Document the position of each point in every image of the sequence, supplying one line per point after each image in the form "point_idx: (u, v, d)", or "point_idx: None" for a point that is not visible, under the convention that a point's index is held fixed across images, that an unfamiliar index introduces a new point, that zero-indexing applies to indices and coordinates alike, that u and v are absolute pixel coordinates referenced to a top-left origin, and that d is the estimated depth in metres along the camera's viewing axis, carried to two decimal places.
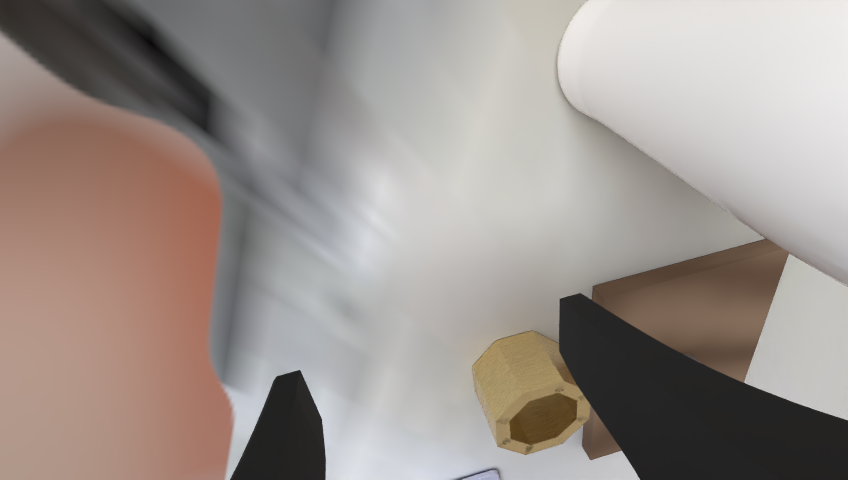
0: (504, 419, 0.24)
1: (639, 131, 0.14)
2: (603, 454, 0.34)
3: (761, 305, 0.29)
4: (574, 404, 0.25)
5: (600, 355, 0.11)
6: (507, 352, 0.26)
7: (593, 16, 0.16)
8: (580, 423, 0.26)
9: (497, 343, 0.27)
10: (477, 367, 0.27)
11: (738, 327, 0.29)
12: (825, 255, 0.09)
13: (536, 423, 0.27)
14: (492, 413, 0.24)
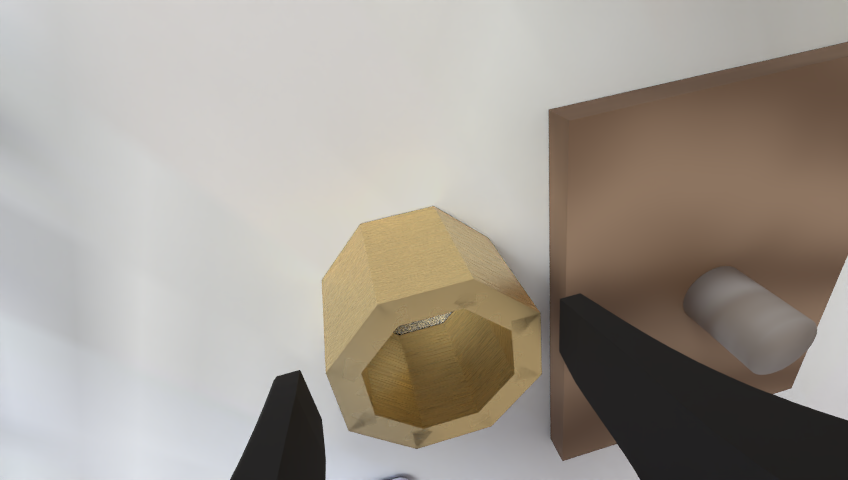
0: (348, 369, 0.11)
1: None
2: (584, 451, 0.21)
3: None
4: (508, 342, 0.12)
5: (600, 355, 0.11)
6: (374, 239, 0.13)
7: None
8: (523, 383, 0.13)
9: (361, 228, 0.13)
10: (327, 278, 0.14)
11: (821, 218, 0.16)
12: None
13: (442, 387, 0.14)
14: (326, 357, 0.11)
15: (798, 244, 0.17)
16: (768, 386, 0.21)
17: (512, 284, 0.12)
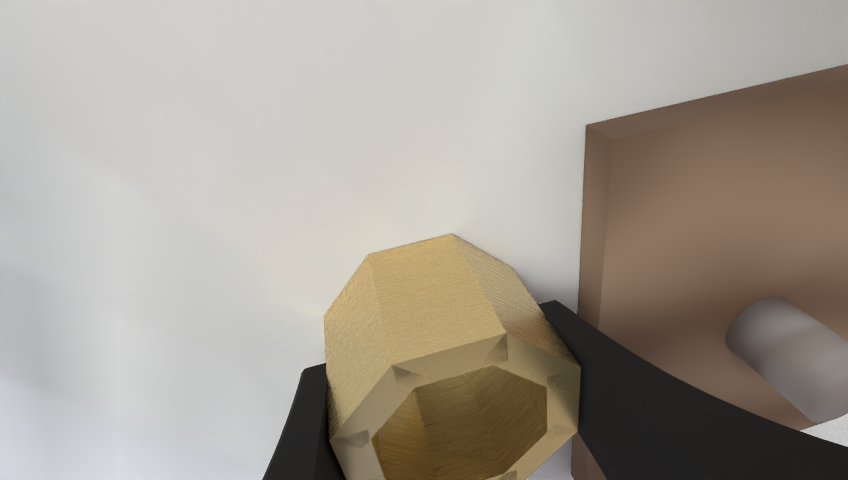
0: (355, 435, 0.09)
1: None
2: None
3: None
4: (541, 397, 0.11)
5: None
6: (384, 275, 0.11)
7: None
8: (556, 442, 0.11)
9: (369, 260, 0.12)
10: (330, 316, 0.12)
11: None
12: None
13: (461, 440, 0.12)
14: (330, 419, 0.10)
15: None
16: (808, 418, 0.20)
17: (546, 330, 0.10)
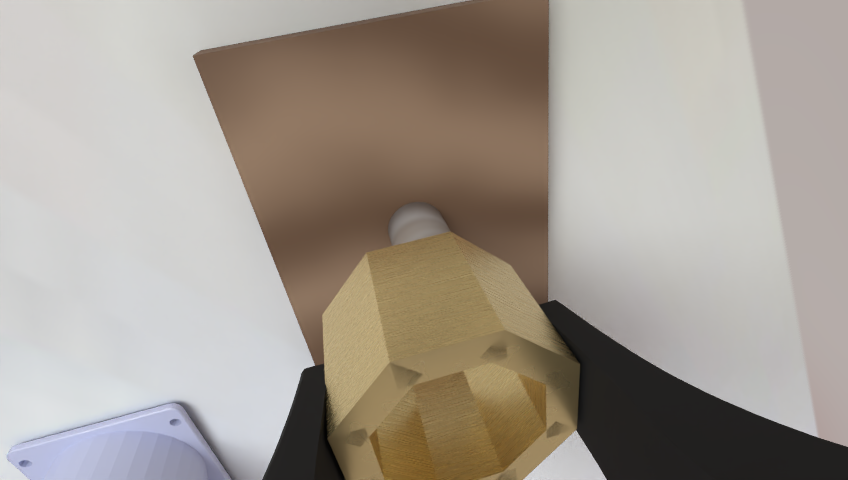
0: (353, 433, 0.09)
1: None
2: None
3: (530, 117, 0.18)
4: (540, 394, 0.10)
5: None
6: (383, 273, 0.11)
7: None
8: (555, 439, 0.11)
9: (368, 257, 0.12)
10: (328, 314, 0.12)
11: (501, 159, 0.18)
12: None
13: (459, 438, 0.12)
14: (328, 417, 0.10)
15: (489, 184, 0.19)
16: None
17: (545, 327, 0.10)
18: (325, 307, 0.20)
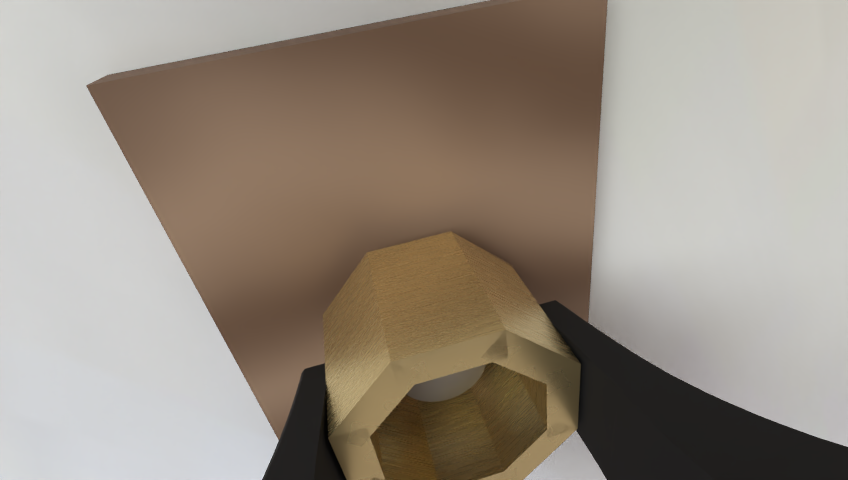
0: (354, 433, 0.09)
1: None
2: None
3: (574, 157, 0.13)
4: (541, 394, 0.10)
5: None
6: (383, 272, 0.11)
7: None
8: (556, 439, 0.11)
9: (368, 257, 0.12)
10: (329, 314, 0.12)
11: (534, 212, 0.14)
12: None
13: (460, 438, 0.12)
14: (329, 417, 0.10)
15: (516, 243, 0.14)
16: None
17: (546, 327, 0.10)
18: None
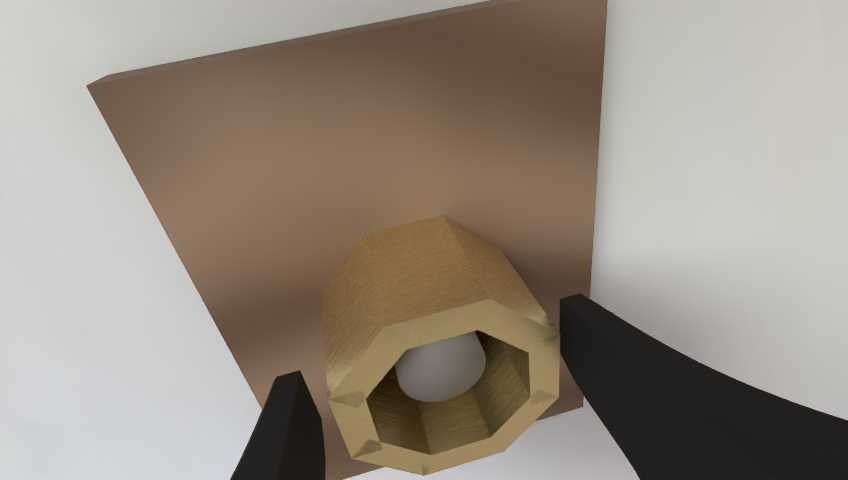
0: (351, 394, 0.10)
1: None
2: (330, 479, 0.18)
3: (574, 157, 0.13)
4: (525, 363, 0.11)
5: (600, 355, 0.11)
6: (379, 251, 0.12)
7: None
8: (539, 407, 0.12)
9: (365, 238, 0.12)
10: (328, 292, 0.13)
11: (534, 212, 0.14)
12: None
13: (451, 408, 0.13)
14: (328, 381, 0.10)
15: (516, 244, 0.14)
16: (550, 405, 0.19)
17: (529, 301, 0.11)
18: None
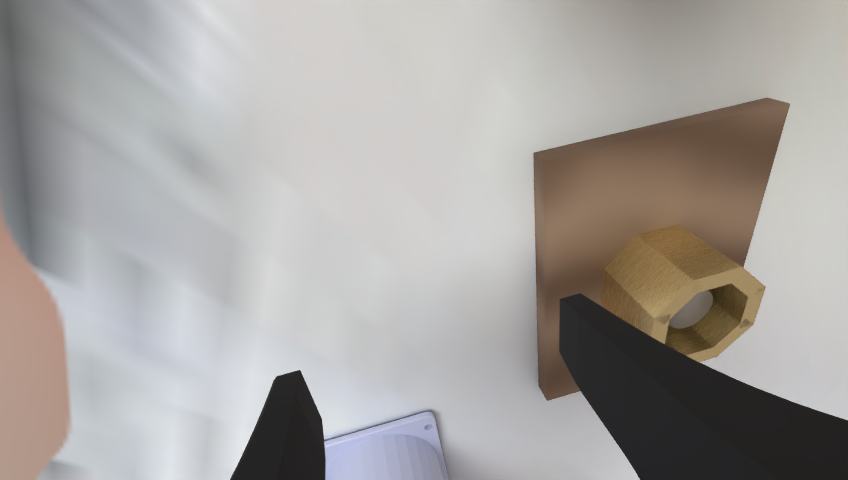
0: (664, 316, 0.20)
1: None
2: (563, 393, 0.28)
3: (753, 191, 0.23)
4: (740, 304, 0.21)
5: (600, 355, 0.11)
6: (656, 244, 0.22)
7: None
8: (742, 330, 0.22)
9: (639, 237, 0.22)
10: (612, 268, 0.23)
11: (724, 222, 0.23)
12: None
13: (681, 334, 0.23)
14: (647, 311, 0.20)
15: (710, 240, 0.24)
16: None
17: None
18: None
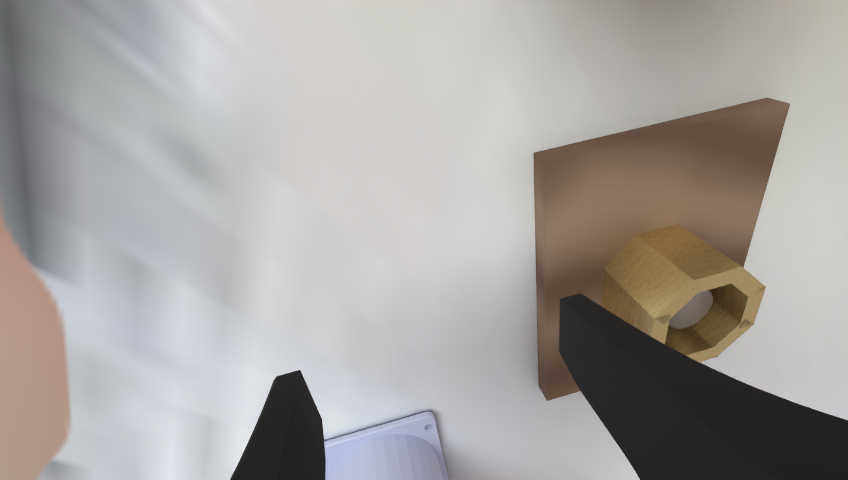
0: (665, 316, 0.20)
1: None
2: (563, 393, 0.28)
3: (753, 191, 0.23)
4: (739, 304, 0.21)
5: (600, 355, 0.11)
6: (656, 244, 0.22)
7: None
8: (742, 330, 0.22)
9: (639, 237, 0.22)
10: (612, 268, 0.23)
11: (724, 222, 0.23)
12: None
13: (681, 334, 0.23)
14: (647, 311, 0.20)
15: (710, 240, 0.24)
16: None
17: None
18: None
